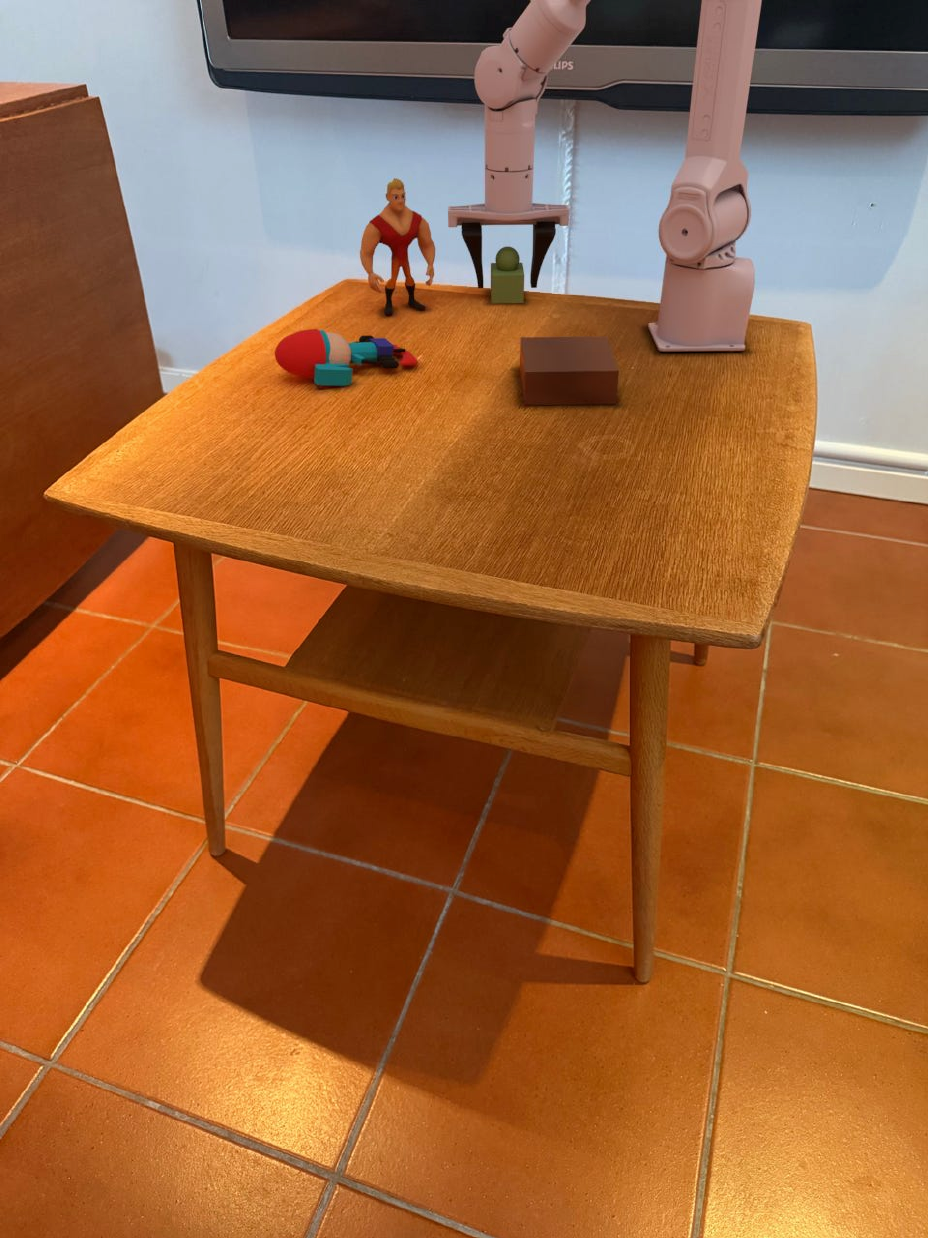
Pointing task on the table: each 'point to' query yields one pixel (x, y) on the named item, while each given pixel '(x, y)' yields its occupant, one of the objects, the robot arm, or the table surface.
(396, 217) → the action figure
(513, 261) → the green toy
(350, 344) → the toy figure
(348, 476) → the table surface
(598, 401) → the walnut block
